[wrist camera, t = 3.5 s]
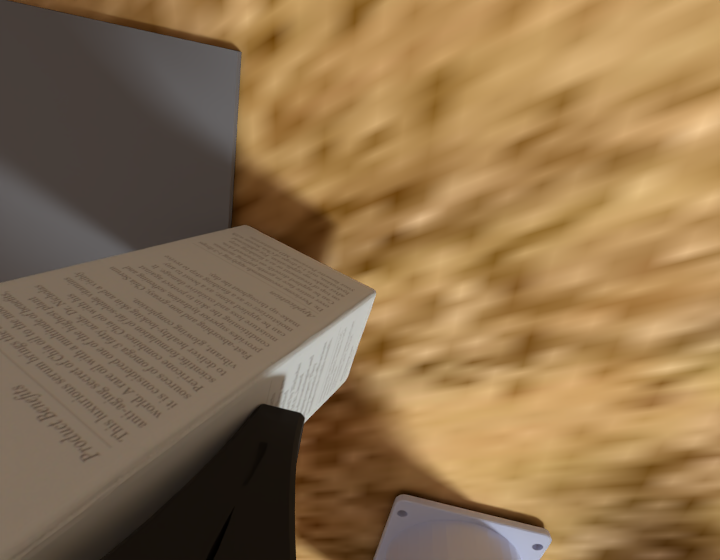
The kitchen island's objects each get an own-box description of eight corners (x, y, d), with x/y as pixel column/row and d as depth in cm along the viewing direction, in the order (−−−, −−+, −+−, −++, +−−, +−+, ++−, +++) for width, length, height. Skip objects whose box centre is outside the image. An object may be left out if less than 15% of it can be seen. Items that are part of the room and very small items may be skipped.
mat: (218, 444, 21) (216, 448, 20) (-75, 372, 21) (-81, 376, 21) (241, 52, 13) (237, 51, 13) (-225, -51, 13) (-239, -54, 13)
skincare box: (233, 312, 17) (-265, 545, 7) (248, 221, 15) (-398, 358, 5) (351, 386, 15) (-109, 856, 5) (384, 290, 13) (-235, 731, 3)
